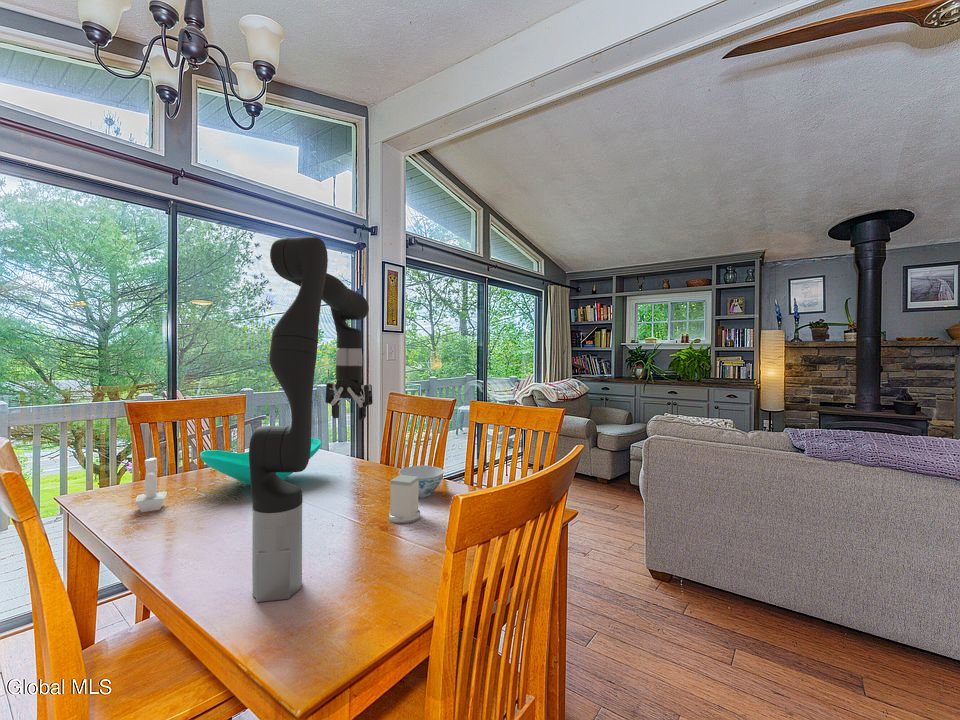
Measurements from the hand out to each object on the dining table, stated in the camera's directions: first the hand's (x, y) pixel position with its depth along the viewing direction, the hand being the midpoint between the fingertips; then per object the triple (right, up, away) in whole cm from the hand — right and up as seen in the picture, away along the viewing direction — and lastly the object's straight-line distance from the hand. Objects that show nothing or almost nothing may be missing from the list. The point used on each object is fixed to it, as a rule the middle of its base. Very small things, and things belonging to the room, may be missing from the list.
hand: (348, 419), depth 133 cm
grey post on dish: (+17, -28, -2) cm, 33 cm away
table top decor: (-38, -27, +28) cm, 54 cm away
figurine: (-59, -27, +2) cm, 65 cm away
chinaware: (+19, -28, +19) cm, 39 cm away
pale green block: (+17, -27, -2) cm, 32 cm away
